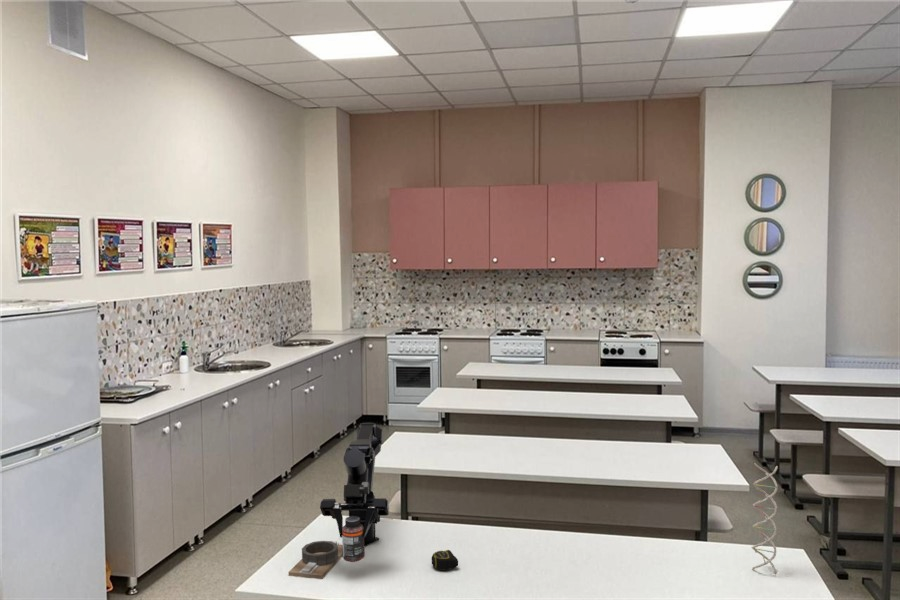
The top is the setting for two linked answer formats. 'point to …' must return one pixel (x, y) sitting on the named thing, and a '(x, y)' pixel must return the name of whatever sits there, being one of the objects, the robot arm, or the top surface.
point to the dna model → (766, 518)
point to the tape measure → (444, 560)
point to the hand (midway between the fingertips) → (352, 536)
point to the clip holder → (317, 559)
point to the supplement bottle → (353, 539)
